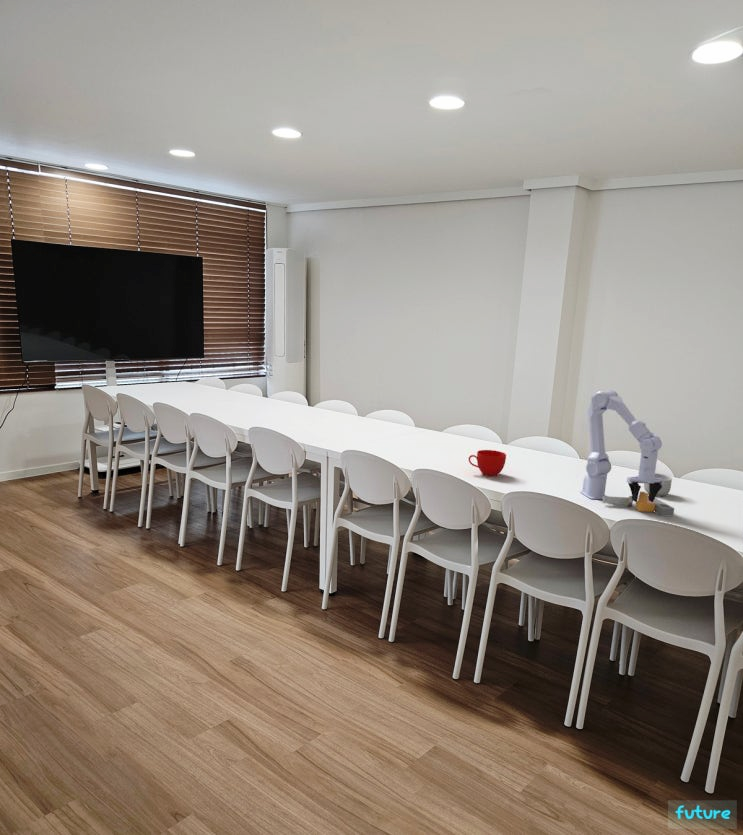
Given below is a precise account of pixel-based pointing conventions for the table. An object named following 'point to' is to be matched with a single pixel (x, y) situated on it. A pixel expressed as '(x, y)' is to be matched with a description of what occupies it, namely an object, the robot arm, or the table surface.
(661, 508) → the power strip
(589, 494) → the robot arm
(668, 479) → the teacup
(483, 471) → the ceramic cup
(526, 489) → the table surface
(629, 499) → the clip
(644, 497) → the plug
